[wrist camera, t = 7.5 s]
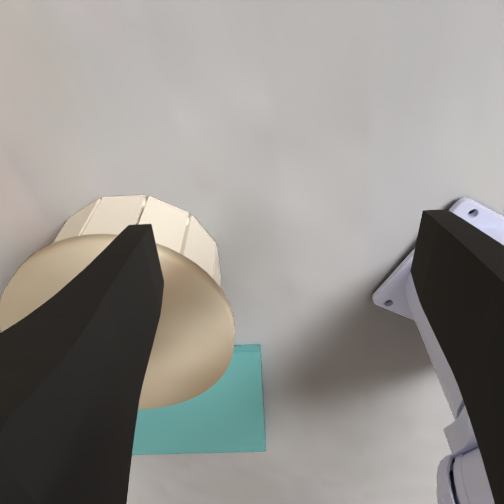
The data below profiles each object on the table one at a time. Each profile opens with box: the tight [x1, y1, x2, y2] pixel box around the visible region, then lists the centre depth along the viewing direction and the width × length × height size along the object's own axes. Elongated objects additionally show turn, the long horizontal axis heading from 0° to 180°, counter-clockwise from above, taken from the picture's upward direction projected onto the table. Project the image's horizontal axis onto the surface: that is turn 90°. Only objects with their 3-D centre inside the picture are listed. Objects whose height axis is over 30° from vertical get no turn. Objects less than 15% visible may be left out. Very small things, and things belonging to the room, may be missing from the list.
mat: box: [132, 345, 266, 455], centre depth 33 cm, size 12×12×1 cm
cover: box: [0, 234, 235, 409], centre depth 20 cm, size 11×11×5 cm
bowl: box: [53, 195, 221, 286], centre depth 24 cm, size 9×9×4 cm
